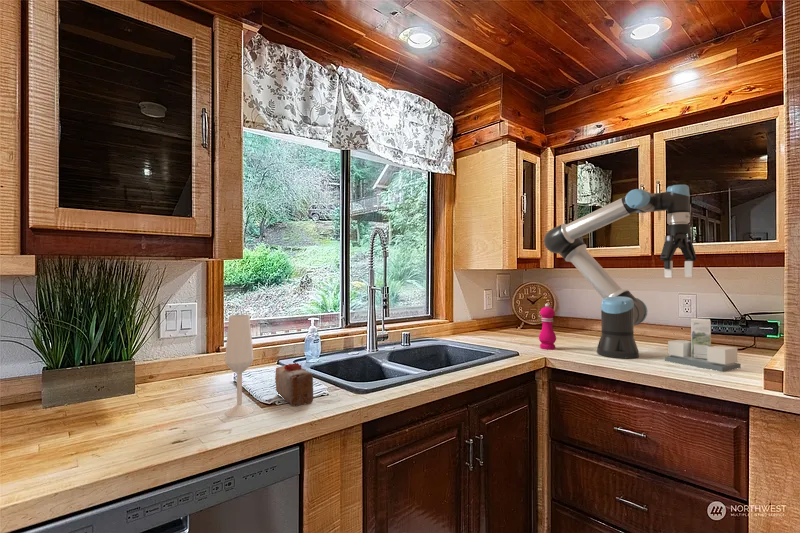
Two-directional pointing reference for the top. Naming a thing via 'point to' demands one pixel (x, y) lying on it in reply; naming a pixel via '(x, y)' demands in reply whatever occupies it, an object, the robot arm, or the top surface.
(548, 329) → the pepper mill
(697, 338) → the syrup box
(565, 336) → the top surface
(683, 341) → the left module
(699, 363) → the board
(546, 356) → the top surface
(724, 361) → the block
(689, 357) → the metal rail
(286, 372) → the food item
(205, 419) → the top surface
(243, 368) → the champagne flute
